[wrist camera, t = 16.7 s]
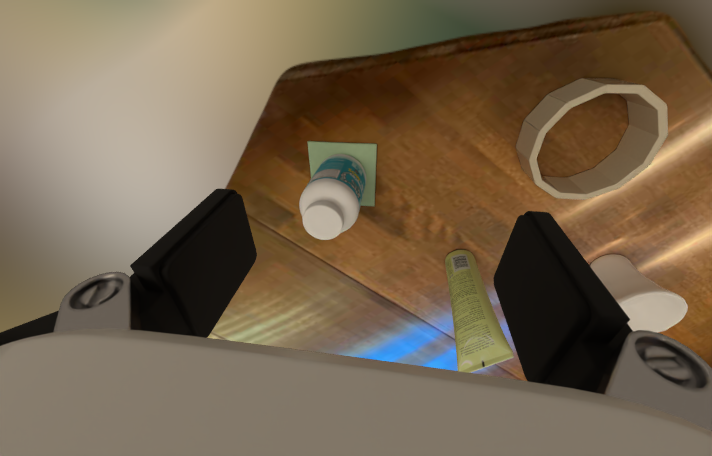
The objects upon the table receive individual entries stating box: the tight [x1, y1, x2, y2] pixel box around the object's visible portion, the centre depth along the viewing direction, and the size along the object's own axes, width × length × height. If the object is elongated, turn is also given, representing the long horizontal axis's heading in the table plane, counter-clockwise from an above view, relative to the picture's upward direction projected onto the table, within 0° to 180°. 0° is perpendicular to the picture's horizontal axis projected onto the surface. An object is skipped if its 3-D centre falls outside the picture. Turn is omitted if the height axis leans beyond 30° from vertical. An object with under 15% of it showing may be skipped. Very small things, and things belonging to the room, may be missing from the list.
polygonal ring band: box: [516, 78, 668, 200], centre depth 34 cm, size 13×13×5 cm
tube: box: [445, 250, 514, 373], centre depth 42 cm, size 6×5×20 cm
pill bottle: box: [299, 154, 366, 240], centre depth 38 cm, size 8×7×14 cm
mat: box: [308, 141, 377, 206], centre depth 44 cm, size 10×10×1 cm
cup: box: [590, 254, 688, 333], centre depth 43 cm, size 9×9×10 cm
